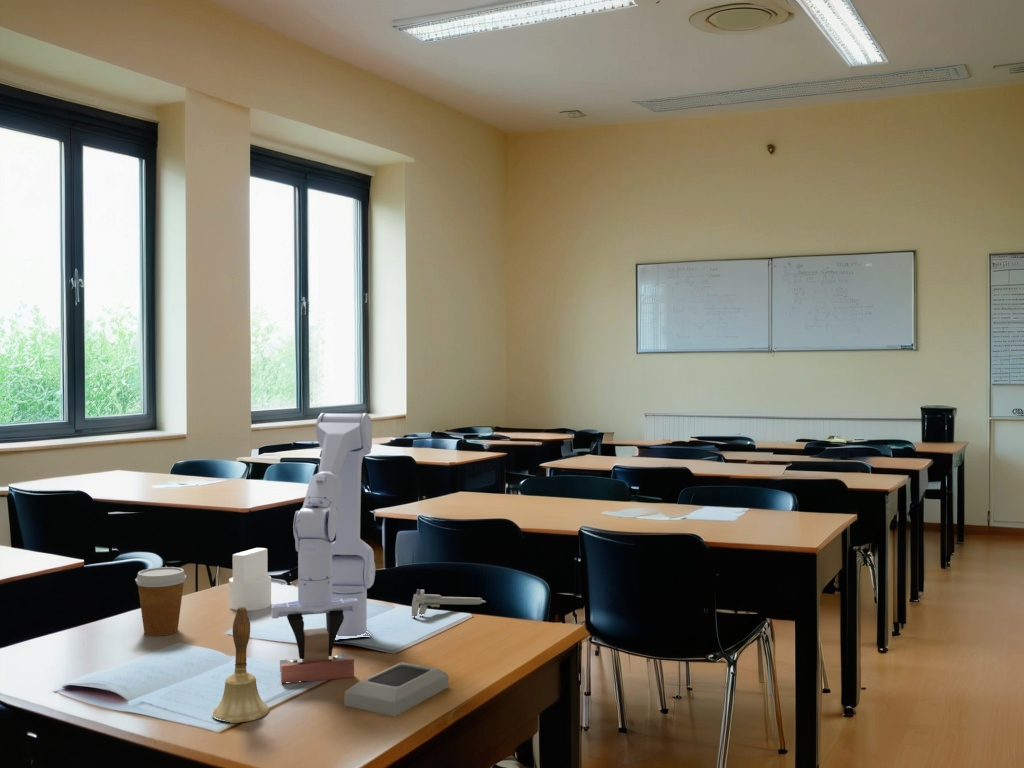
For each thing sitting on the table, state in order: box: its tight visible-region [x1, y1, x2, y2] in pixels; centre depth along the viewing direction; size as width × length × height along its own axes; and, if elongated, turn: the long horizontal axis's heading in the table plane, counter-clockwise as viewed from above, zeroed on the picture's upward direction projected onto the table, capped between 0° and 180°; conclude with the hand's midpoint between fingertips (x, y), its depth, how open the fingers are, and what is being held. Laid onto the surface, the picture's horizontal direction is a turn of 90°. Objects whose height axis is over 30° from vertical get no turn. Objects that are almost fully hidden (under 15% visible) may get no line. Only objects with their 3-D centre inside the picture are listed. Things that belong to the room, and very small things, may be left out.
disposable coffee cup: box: [134, 566, 187, 637], centre depth 184 cm, size 10×10×12 cm
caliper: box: [411, 588, 487, 617], centre depth 201 cm, size 20×1×6 cm, turn 135°
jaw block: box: [301, 627, 330, 662], centre depth 159 cm, size 4×4×6 cm
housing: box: [279, 653, 355, 684], centre depth 158 cm, size 7×12×3 cm, turn 109°
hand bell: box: [212, 607, 270, 724], centre depth 140 cm, size 8×8×16 cm
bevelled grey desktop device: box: [343, 661, 449, 717], centre depth 148 cm, size 10×4×15 cm
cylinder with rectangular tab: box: [228, 547, 272, 612], centre depth 205 cm, size 9×9×12 cm
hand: (315, 655), depth 159 cm, fingers closed on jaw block, 4 cm apart
